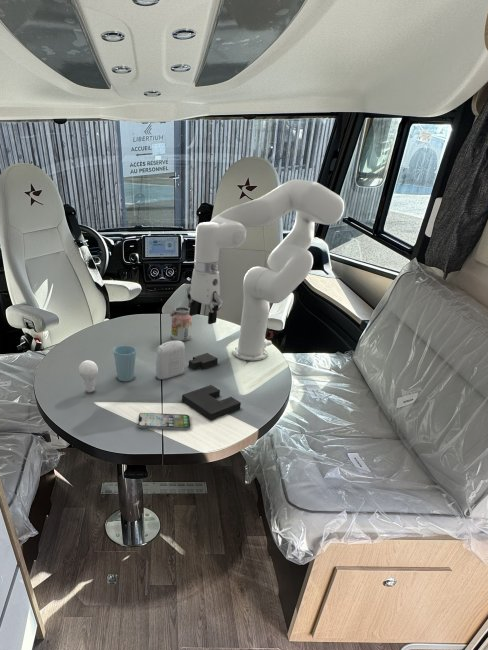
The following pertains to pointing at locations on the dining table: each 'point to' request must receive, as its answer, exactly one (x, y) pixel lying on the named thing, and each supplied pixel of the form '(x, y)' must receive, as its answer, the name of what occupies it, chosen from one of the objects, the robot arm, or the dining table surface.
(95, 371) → the lightbulb
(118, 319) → the dining table surface
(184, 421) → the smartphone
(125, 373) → the cup
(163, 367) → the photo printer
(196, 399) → the base pad
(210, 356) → the tab pad
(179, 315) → the beverage can
